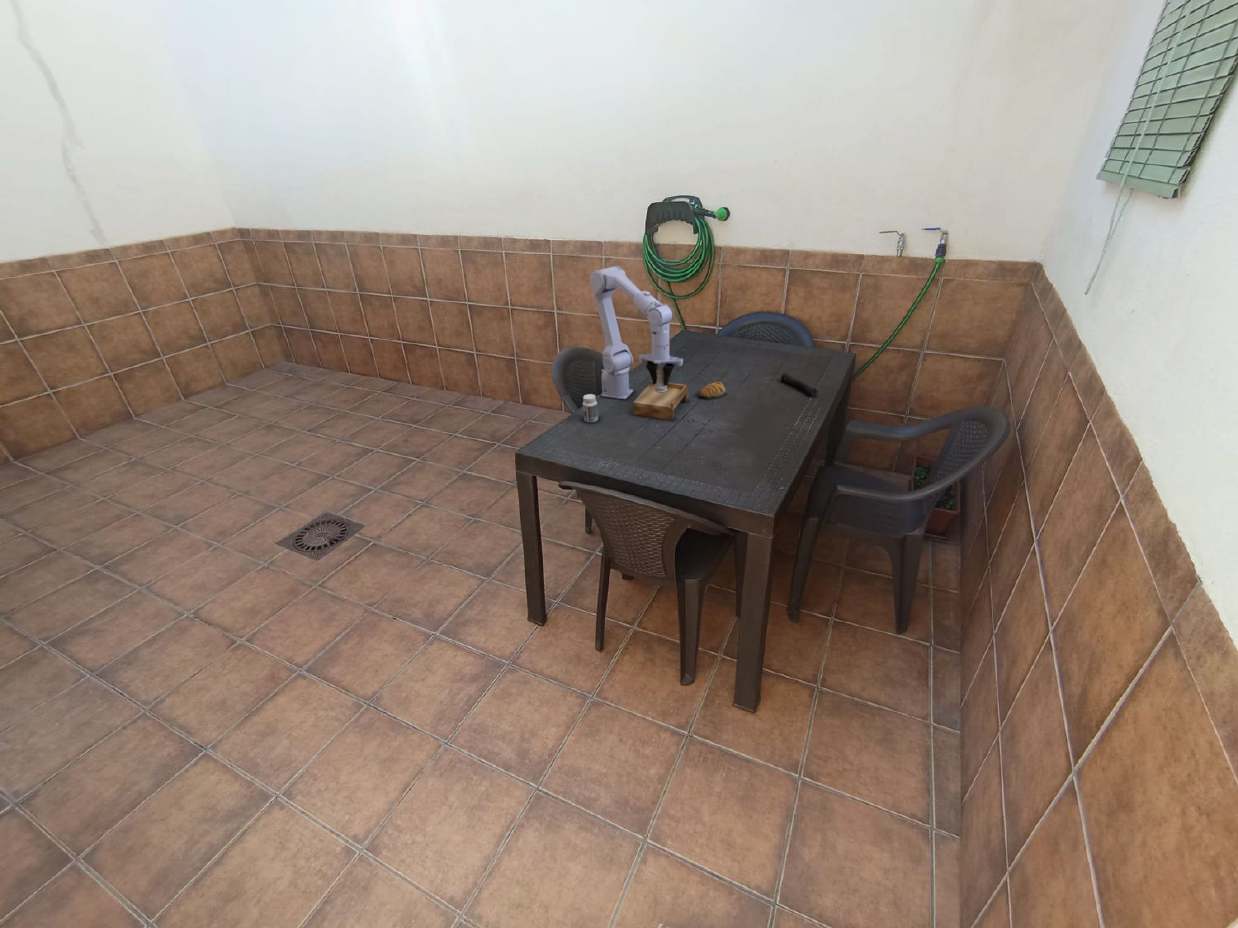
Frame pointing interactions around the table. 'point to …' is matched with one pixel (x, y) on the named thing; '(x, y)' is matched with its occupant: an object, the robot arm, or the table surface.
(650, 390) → the wooden tray
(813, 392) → the flashlight
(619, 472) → the table surface
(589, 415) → the pill bottle
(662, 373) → the rook chess piece
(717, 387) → the pastry
